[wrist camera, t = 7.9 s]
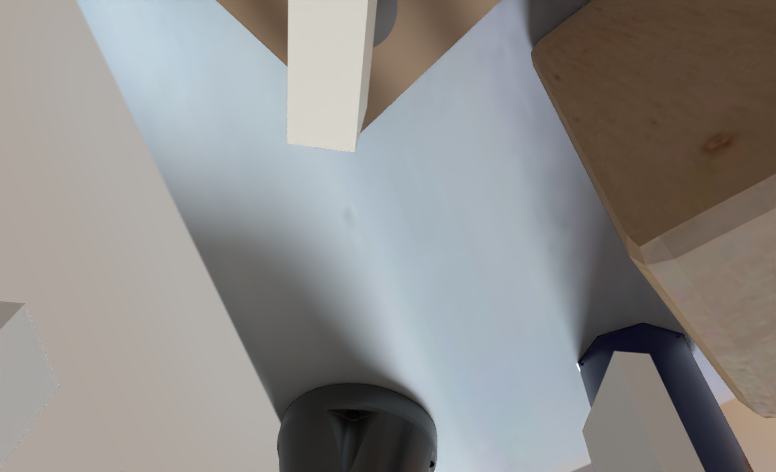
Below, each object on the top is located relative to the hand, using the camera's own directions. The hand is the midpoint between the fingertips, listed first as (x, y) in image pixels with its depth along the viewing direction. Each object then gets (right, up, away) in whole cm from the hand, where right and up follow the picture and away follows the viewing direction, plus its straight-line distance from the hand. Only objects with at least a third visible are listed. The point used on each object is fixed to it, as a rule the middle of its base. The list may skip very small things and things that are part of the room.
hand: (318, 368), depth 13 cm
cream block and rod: (0, +17, +13) cm, 22 cm away
